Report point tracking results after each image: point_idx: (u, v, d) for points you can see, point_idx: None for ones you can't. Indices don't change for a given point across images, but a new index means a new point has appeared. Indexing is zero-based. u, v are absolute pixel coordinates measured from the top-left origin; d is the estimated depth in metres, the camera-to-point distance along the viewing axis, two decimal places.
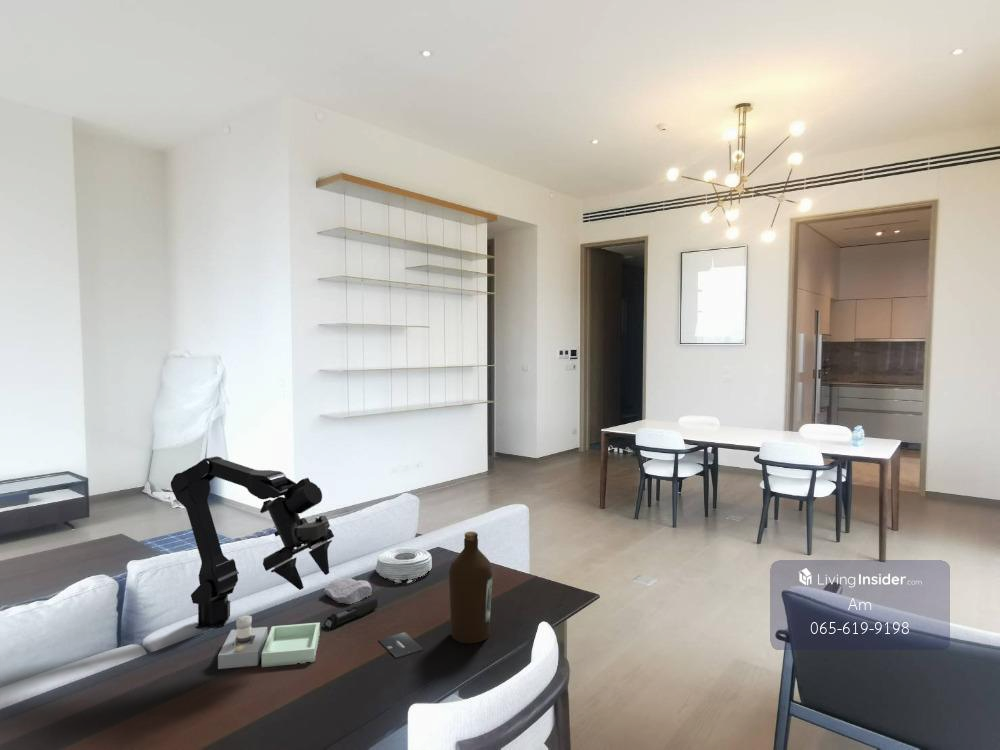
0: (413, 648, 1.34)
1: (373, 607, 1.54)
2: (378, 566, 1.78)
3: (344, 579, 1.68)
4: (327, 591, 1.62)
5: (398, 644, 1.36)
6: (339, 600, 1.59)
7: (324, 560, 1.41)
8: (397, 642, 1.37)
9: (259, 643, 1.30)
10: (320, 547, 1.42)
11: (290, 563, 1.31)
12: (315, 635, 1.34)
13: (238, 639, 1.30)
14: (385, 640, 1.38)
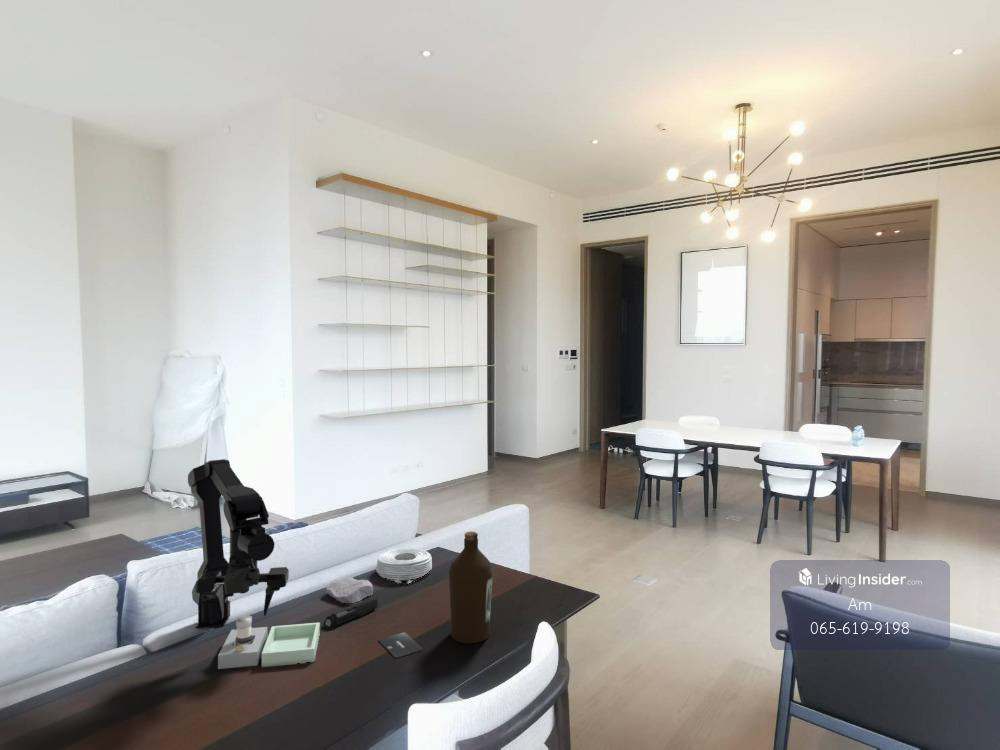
0: (413, 648, 1.34)
1: (373, 607, 1.54)
2: (378, 566, 1.78)
3: (345, 579, 1.68)
4: (328, 590, 1.62)
5: (398, 644, 1.36)
6: (340, 599, 1.59)
7: (265, 602, 1.32)
8: (397, 642, 1.37)
9: (259, 643, 1.30)
10: None
11: (207, 596, 1.28)
12: (315, 635, 1.34)
13: (238, 639, 1.30)
14: (385, 640, 1.38)
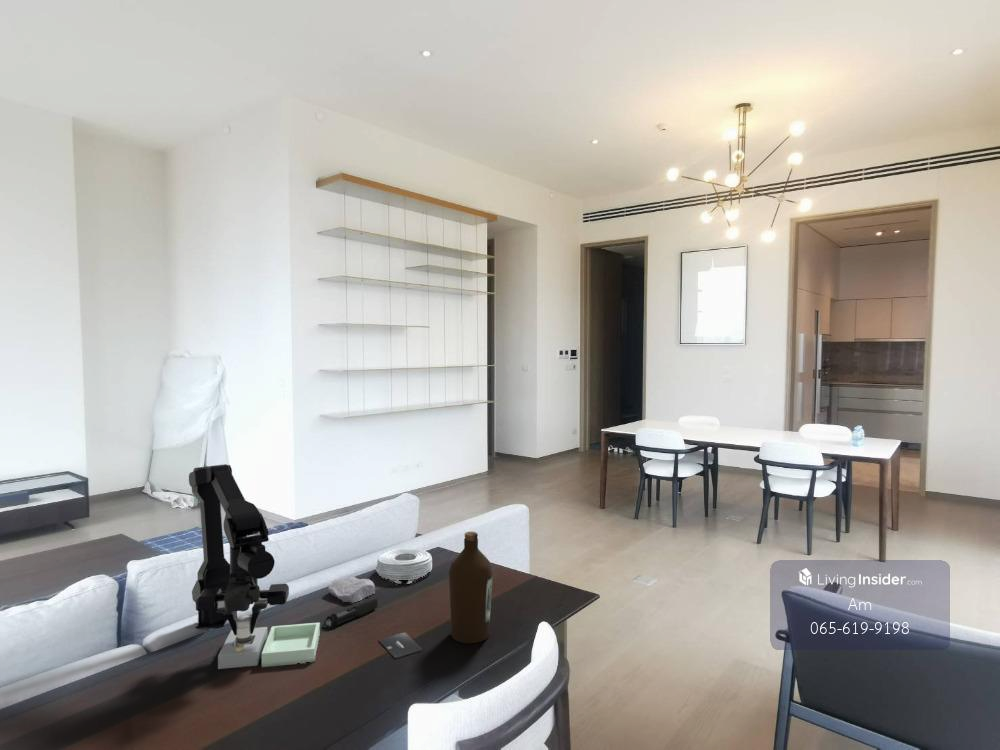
0: (413, 648, 1.34)
1: (373, 607, 1.54)
2: (378, 567, 1.78)
3: (347, 578, 1.69)
4: (331, 590, 1.63)
5: (398, 644, 1.36)
6: (343, 598, 1.60)
7: None
8: (397, 643, 1.37)
9: (259, 643, 1.30)
10: (253, 606, 1.31)
11: (222, 612, 1.28)
12: (315, 635, 1.34)
13: (238, 639, 1.30)
14: (385, 640, 1.38)
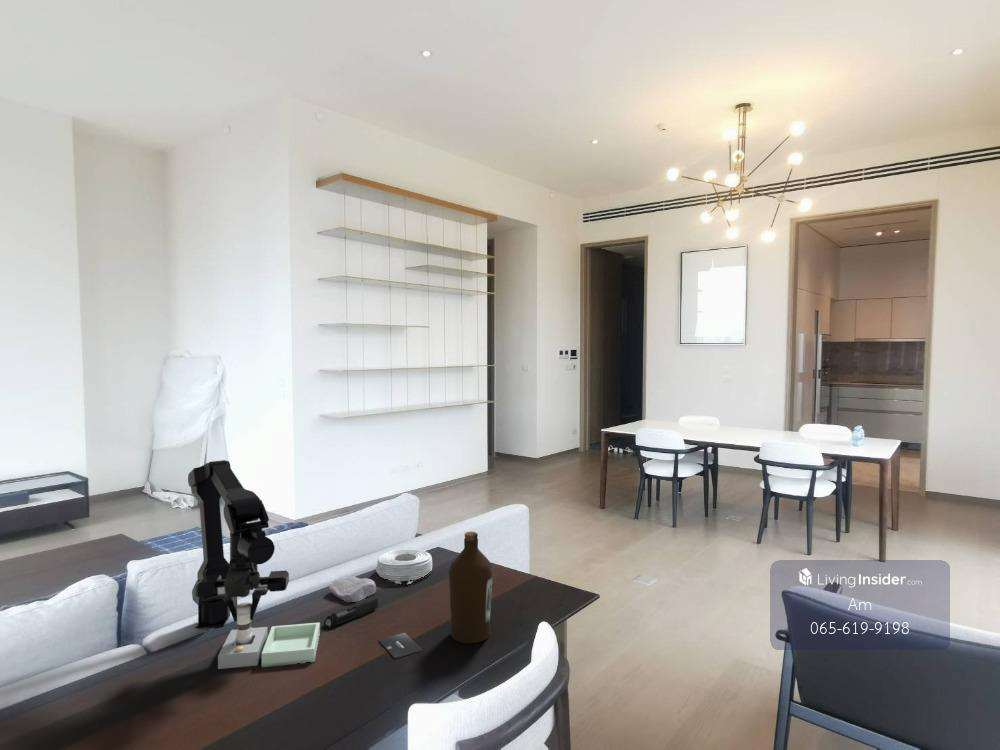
0: (412, 649, 1.34)
1: (373, 607, 1.54)
2: (378, 567, 1.77)
3: (348, 578, 1.69)
4: (332, 589, 1.63)
5: (398, 644, 1.36)
6: (344, 598, 1.60)
7: None
8: (397, 643, 1.37)
9: (259, 643, 1.30)
10: (253, 593, 1.31)
11: (222, 598, 1.28)
12: (315, 635, 1.34)
13: (238, 626, 1.30)
14: (385, 640, 1.38)
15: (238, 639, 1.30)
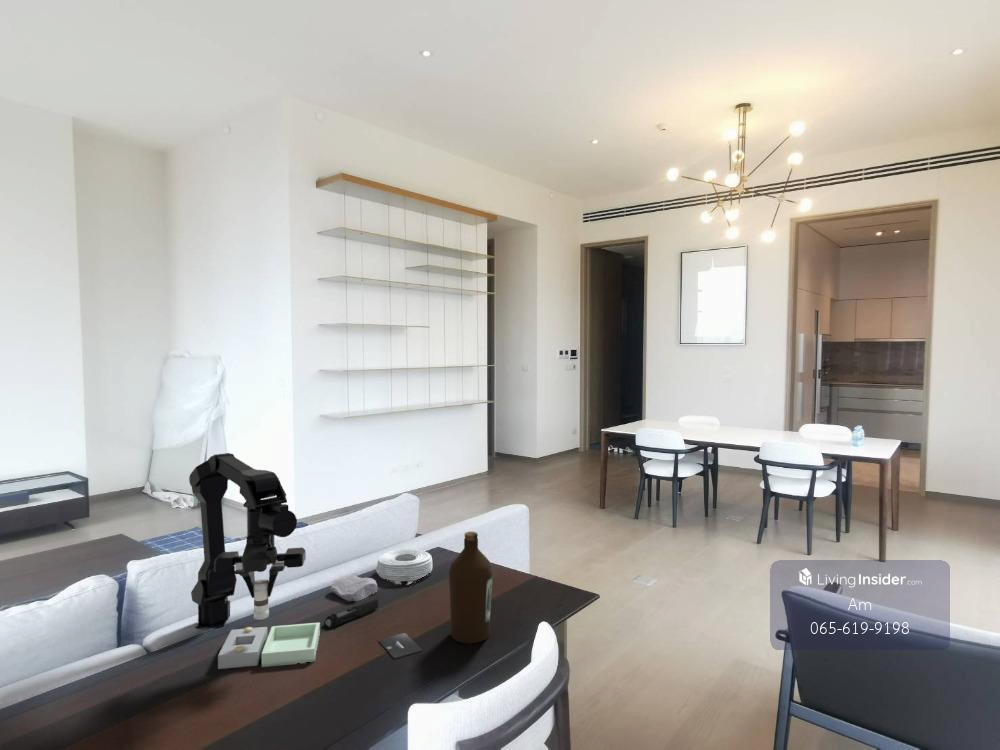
0: (412, 649, 1.34)
1: (374, 607, 1.54)
2: (378, 567, 1.77)
3: (350, 577, 1.70)
4: (333, 589, 1.64)
5: (398, 644, 1.36)
6: (346, 597, 1.61)
7: None
8: (396, 643, 1.37)
9: (259, 643, 1.30)
10: None
11: (239, 574, 1.29)
12: (315, 635, 1.34)
13: (255, 602, 1.30)
14: (385, 640, 1.38)
15: (255, 615, 1.30)
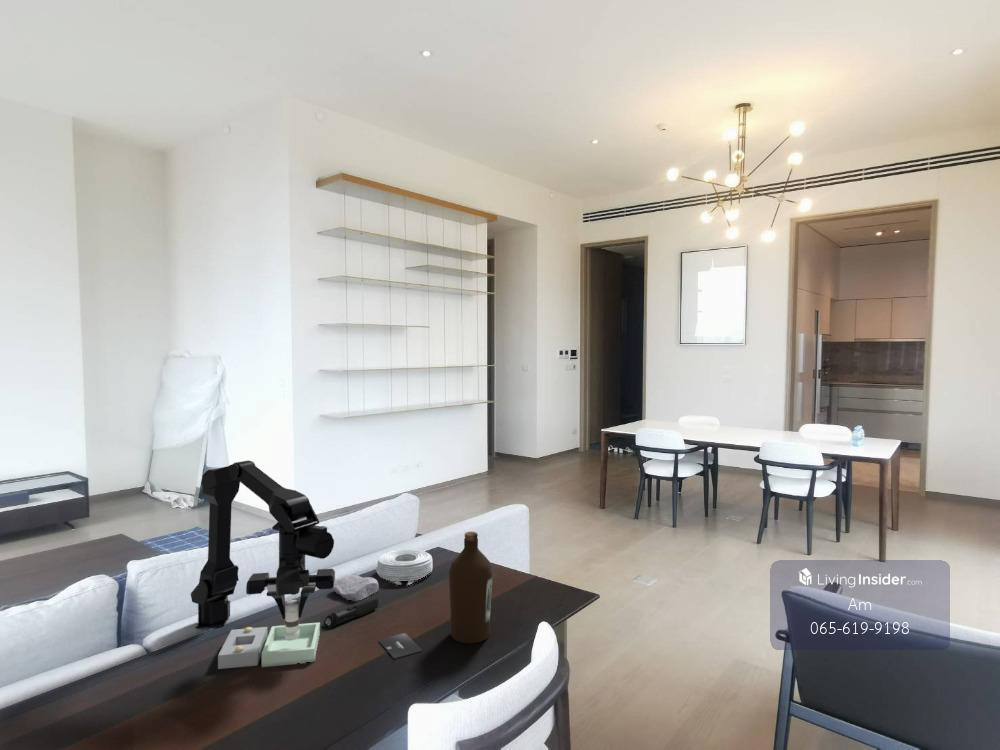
0: (412, 649, 1.34)
1: (374, 607, 1.54)
2: (378, 568, 1.77)
3: (351, 577, 1.70)
4: (335, 588, 1.64)
5: (398, 644, 1.36)
6: (347, 597, 1.61)
7: None
8: (396, 643, 1.37)
9: (259, 643, 1.30)
10: None
11: (271, 596, 1.30)
12: (315, 635, 1.34)
13: (287, 623, 1.32)
14: (385, 640, 1.38)
15: (286, 636, 1.32)
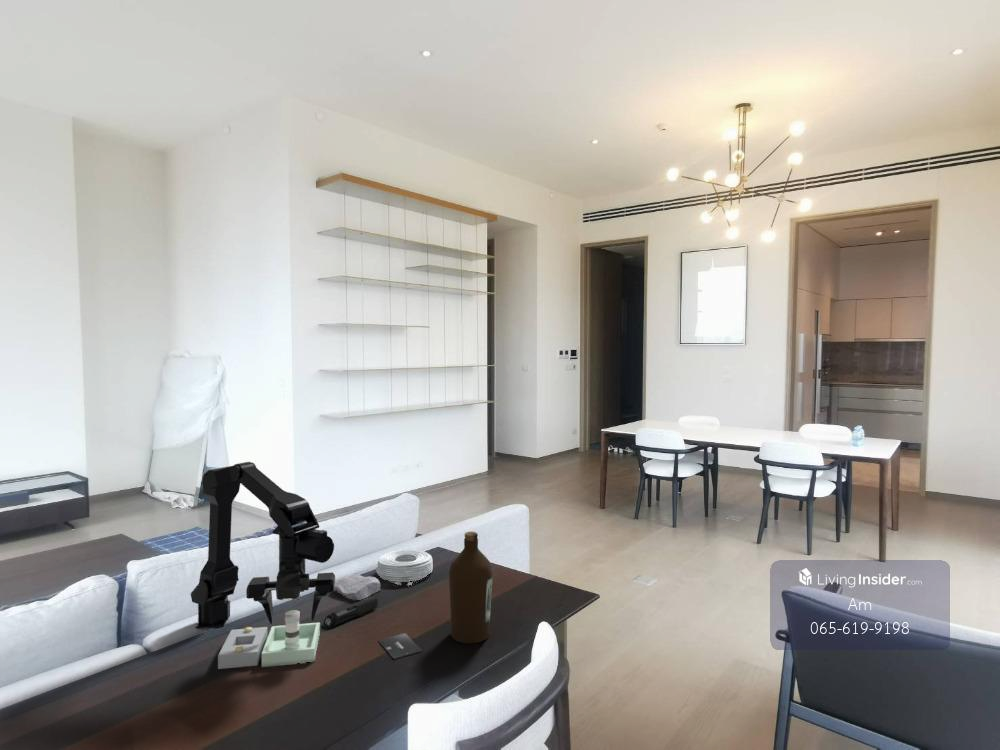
0: (412, 649, 1.34)
1: (373, 606, 1.55)
2: (378, 568, 1.77)
3: (353, 576, 1.71)
4: (336, 587, 1.65)
5: (398, 645, 1.36)
6: (349, 596, 1.61)
7: None
8: (396, 643, 1.37)
9: (259, 643, 1.30)
10: (314, 594, 1.33)
11: (258, 601, 1.29)
12: (315, 635, 1.34)
13: (287, 633, 1.32)
14: (385, 641, 1.38)
15: (287, 646, 1.32)
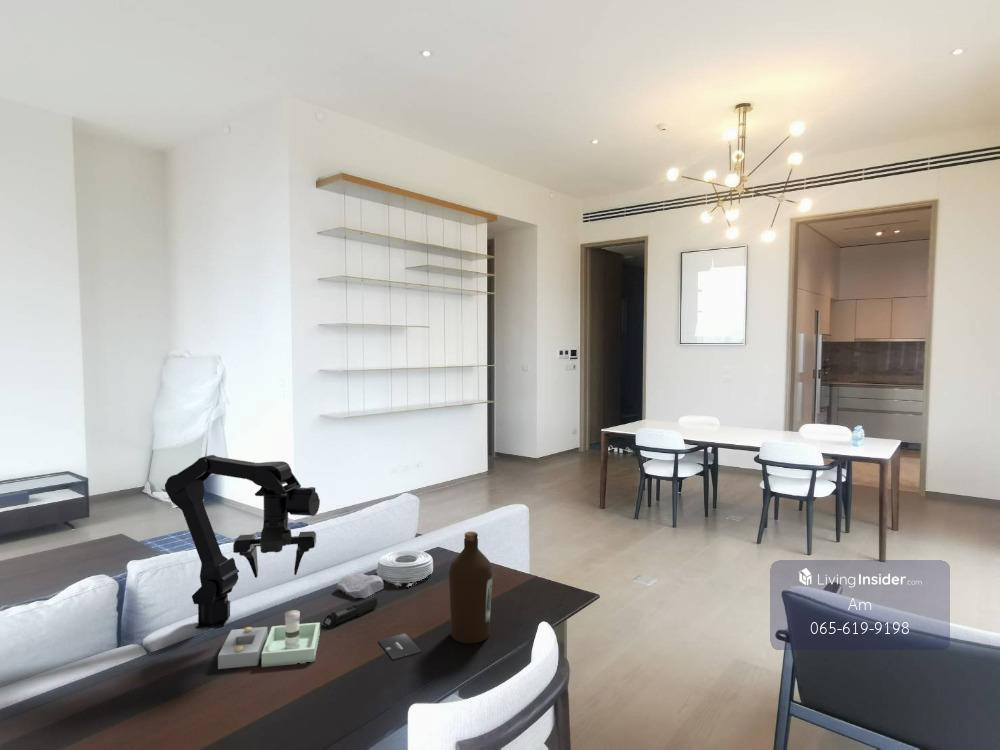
0: (411, 650, 1.33)
1: (373, 606, 1.55)
2: (378, 569, 1.76)
3: (356, 575, 1.72)
4: (340, 586, 1.66)
5: (397, 645, 1.36)
6: (352, 594, 1.63)
7: (295, 562, 1.44)
8: (396, 644, 1.36)
9: (259, 643, 1.30)
10: (297, 550, 1.44)
11: (244, 555, 1.40)
12: (315, 635, 1.34)
13: (287, 633, 1.32)
14: (385, 641, 1.38)
15: (287, 646, 1.32)
